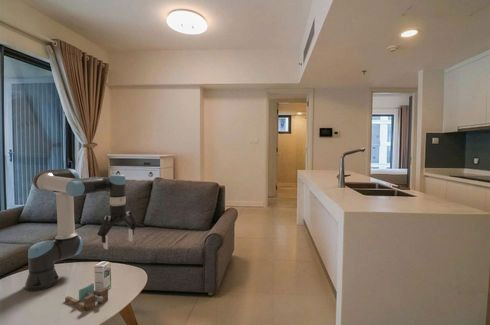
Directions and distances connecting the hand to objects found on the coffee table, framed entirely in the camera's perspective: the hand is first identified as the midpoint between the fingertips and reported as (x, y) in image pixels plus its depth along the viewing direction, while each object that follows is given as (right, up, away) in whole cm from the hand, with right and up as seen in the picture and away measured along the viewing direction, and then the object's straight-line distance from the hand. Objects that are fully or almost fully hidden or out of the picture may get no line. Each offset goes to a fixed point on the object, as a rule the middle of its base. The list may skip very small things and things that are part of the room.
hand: (118, 244), depth 141 cm
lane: (-14, -27, -4) cm, 31 cm away
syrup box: (-12, -27, +7) cm, 30 cm away
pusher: (-9, -27, -7) cm, 29 cm away
